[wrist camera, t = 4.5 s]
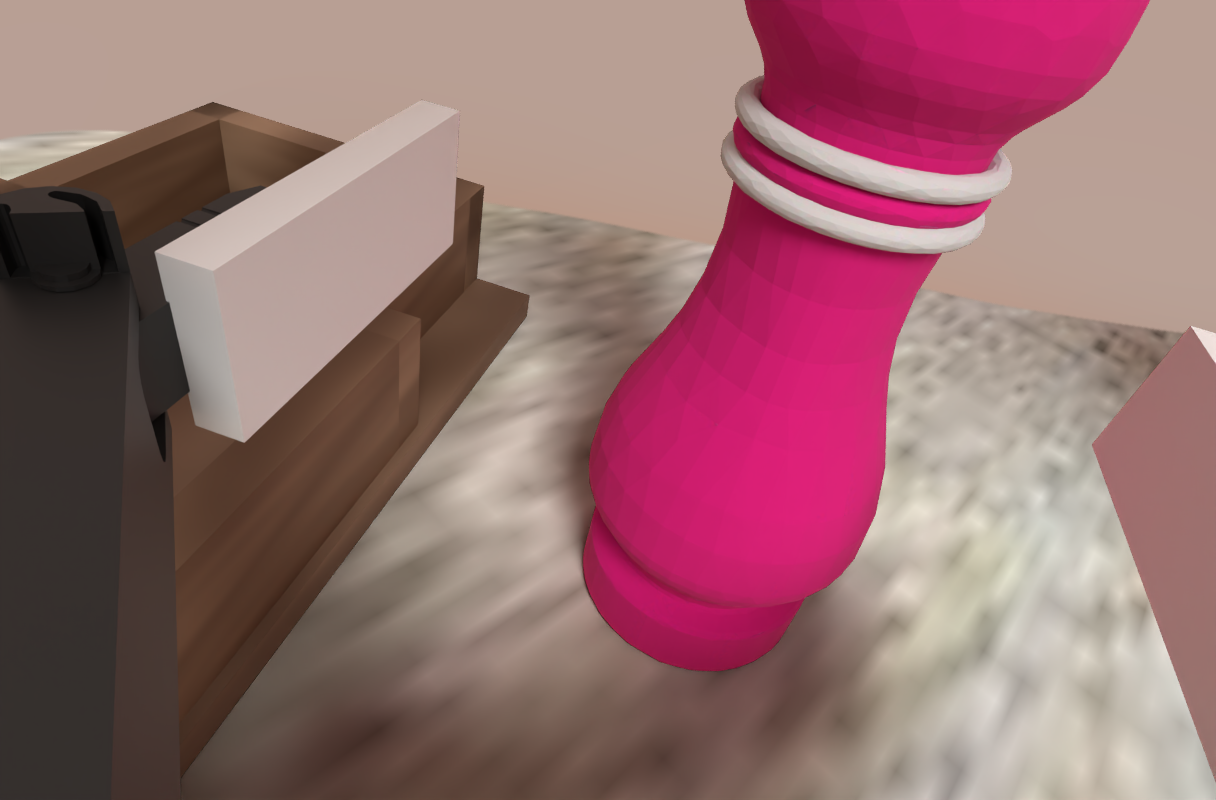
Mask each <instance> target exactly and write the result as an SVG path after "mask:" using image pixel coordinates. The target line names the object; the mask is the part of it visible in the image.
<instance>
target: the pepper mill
mask: <svg viewBox="0 0 1216 800" xmlns="http://www.w3.org/2000/svg"><path fill="white" fill-rule="evenodd" d="M1149 1H1150V0H745V5H746V10H747V15H748V18H749V21H750V23H751V26H752V28H753V30H754V33H755V36H756V38H757V41H758V43H759V46H760V49H761V53H762V57H763V61H764V76H759V77H757V78H755V79H753V80H750V81H749V82H747V83H746V84H744V85H743V86H742V87H741V88H740V90H739V92H738V93H737V95H736V98H735V109H736V112H737V115H738V117H737V119H736V121H735V123H734V126H733V130H732V131H731V132H729V134H728V135H727V136H726V138H725V139H724V140H723V144H722V149H721V159H722V163H723V165H724V167H725V169H726V171H727V173H728V175H729V176H730V177H731V178H732V180H733V181H734V182H733V187H732V191H731V195H730V200H729V204H728V208H727V213H726V217H725V222H724V226H723V229H722V231H721V234H720V236H719V238H718V241H717V243H716V246H715V248H714V250H713V253H712V255H711V257H710V260H709V262H708V264H707V267H706V269H705V272H704V274H703V275H702V277H701V279H700V280H699V282H698V284H697V285H696V287H695V288H694V290H693V292H692V293H691V295H690V296H689V298H688V300H687V301H686V303H685V305H684V306H683V308H682V309H681V310H680V312H679V313H678V314H677V315H676V316H675V318H674V319H673V320H672V321H671V323H670V324H669V325H668V326H667V327H666V329H665V330H664V331H663V332H662V333H661V334H660V335H659V336H658V337H657V338H656V339H655V340H654V342H653V343H652V344H651V345H650V346H649V347H648V348H647V349H646V350H645V351H644V352H643V353H642V354H641V355H640V356H639V357H638V358H637V359H636V361H635V362H634V363H633V364H632V365H631V366H630V368H629V369H628V370H627V371H626V373H625V374H624V376H623V377H622V379H621V380H620V382H619V384H618V385H617V387H616V388H615V390H614V392H613V393H612V395H611V396H610V398H609V399H608V401H607V403H606V405H605V408H604V411H603V413H602V416H601V419H600V422H599V425H598V427H597V430H596V433H595V436H594V439H593V442H592V445H591V451H590V457H589V479H590V486H591V489H592V493H593V496H594V500H595V503H596V507H595V510H594V514H593V518H592V521H591V525H590V529H589V533H588V536H587V540H586V544H585V548H584V555H583V569H584V576H585V581H586V584H587V587H588V590H589V593H590V595H591V597H592V599H593V601H594V603H595V605H596V606H597V608H598V610H599V612H600V614H601V615H602V616H603V618H604V619H605V620H606V621H607V622H608V624H609V625H610V626H611V627H612V628H613V629H614V630H615V631H616V632H617V633H618V634H619V635H620V636H621V637H622V638H623V639H624V640H625V641H626V642H627V643H629V644H630V645H632V646H634V647H635V648H637V649H639V650H641V651H642V652H644V653H646V654H647V655H649V656H651V657H653V658H654V659H656V660H658V661H659V662H663V663H666V664H669V665H672V666H676V667H680V668H684V669H689V670H697V671H723V670H728V669H734V668H737V667H740V666H743V665H745V664H748V663H751V662H753V661H755V660H757V659H758V658H760V657H761V656H763V655H764V654H766V653H767V652H769V651H770V650H771V649H772V648H773V647H774V646H775V645H776V644H777V643H778V642H779V640H780V639H781V637H782V636H783V634H784V633H785V631H786V629H787V628H788V626H789V624H790V623H791V621H792V619H793V618H794V616H795V614H796V613H797V611H798V609H799V608H800V606H801V604H802V602H803V600H804V598H805V597H807V596H809V595H811V594H814V593H816V592H818V591H820V590H822V589H824V588H826V587H827V586H828V585H830V584H831V583H832V582H833V581H834V580H835V579H837V578H838V577H839V576H840V575H841V574H842V573H843V572H844V570H845V569H846V568H847V567H848V566H849V565H850V563H851V562H852V561H853V560H854V559H855V556H856V554H857V552H858V550H859V548H860V546H861V544H862V542H863V540H864V538H865V536H866V533H867V531H868V529H869V527H870V525H871V523H872V521H873V519H874V517H875V514H876V509H877V504H878V500H879V495H880V490H881V485H882V480H883V475H884V470H885V449H886V407H887V393H888V379H889V372H890V367H891V363H892V358H893V354H894V349H895V345H896V340H897V337H898V335H899V333H900V330H901V328H902V326H903V323H904V321H905V319H906V316H907V314H908V312H909V309H910V307H911V305H912V303H913V300H914V298H915V296H916V293H917V292H918V290H919V289H920V287H921V285H922V283H923V282H924V281H925V279H926V278H927V276H928V274H929V273H930V271H931V270H932V268H933V267H934V265H935V264H936V262H937V260H938V259H939V257H940V256H941V254H942V253H945V252H951V251H955V250H958V249H960V248H962V247H964V246H967V245H969V244H971V243H972V242H973V241H974V240H976V239H977V238H978V237H979V236H980V234H981V233H982V231H983V228H984V226H985V213H984V211H985V210H986V209H987V207H988V205H989V204H990V203H991V198H993V197H995V196H997V195H999V194H1000V193H1001V192H1002V191H1003V190H1004V189H1005V188H1006V187H1007V186H1008V184H1009V183H1010V181H1011V176H1012V168H1011V164H1010V161H1009V160H1008V158H1007V157H1006V155H1005V154H1004V153H1003V151H1002V150H1001V149H1000V148H1001V147H1002V146H1004V145H1005V144H1006V143H1007V142H1008V141H1009V140H1010V139H1011V138H1012V137H1014V136H1015V135H1017V134H1019V133H1020V132H1022V131H1023V130H1025V129H1027V128H1029V127H1030V126H1032V125H1034V124H1036V123H1038V122H1040V121H1042V120H1044V119H1046V118H1047V117H1050V116H1051V115H1053V114H1055V113H1057V112H1059V111H1061V110H1063V109H1064V108H1066V107H1067V106H1069V105H1070V104H1072V103H1073V102H1075V101H1077V100H1078V99H1080V98H1081V97H1083V96H1084V95H1085V94H1086V93H1087V92H1088V91H1089V90H1090V89H1091V88H1092V87H1093V86H1094V85H1095V84H1097V83H1098V82H1099V81H1100V80H1101V79H1102V78H1103V77H1104V76H1105V75H1106V74H1107V73H1108V72H1109V70H1110V68H1111V67H1112V65H1113V64H1114V62H1115V61H1116V59H1117V58H1118V56H1119V54H1120V53H1121V51H1122V50H1123V48H1124V46H1125V45H1126V44H1127V42H1128V41H1129V39H1130V37H1131V35H1132V33H1133V31H1134V29H1135V28H1136V26H1137V24H1138V22H1139V20H1140V18H1141V16H1142V15H1143V13H1144V11H1145V9H1146V7H1147V5H1148V4H1149Z"/></svg>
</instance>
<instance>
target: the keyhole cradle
mask: <svg viewBox="0 0 1216 800" xmlns="http://www.w3.org/2000/svg"><path fill="white" fill-rule="evenodd" d="M343 144H345V143H343V142H340V141H337V140H333V139H331V138H327V137H324V136H321V135H318V134H314V133H311V132H308V131H305V130H301V129H298V128H295V127H292V126H289V125H285V124H282V123H279V122H276V121H272V120H269V119H266V118H263V117H259V116H256V115H253V114H250V113H247V112H243V111H240V110H237V109H234V108H230V107H227V106H224V105H221V104H217V103H214V102H212V103H209V104H206V105H204V106H201V107H199V108H196V109H193V110H191V111H188V112H186V113H183V114H180V115H178V116H175V117H172V118H170V119H167V120H165V121H162V122H160V123H157V124H154V125H152V126H149V127H147V128H144V129H141V130H139V131H136V132H133V133H131V134H128V135H126V136H123V137H120V138H118V139H115V140H113V141H110V142H107V143H105V144H102V145H100V146H97V147H94V148H92V149H89V150H87V151H84V152H81V153H79V154H76V155H74V156H71V157H68V158H66V159H63V160H60V161H58V162H55V163H53V164H50V165H47V166H45V167H42V168H40V169H37V170H34V171H32V172H29V173H27V174H24V175H21V176H19V177H16V178H14V179H11V180H8V181H6V180H3V179H0V194H3V193H7V192H11V191H15V190H19V189H23V188H33V187H45V186H59V187H75V188H80V189H84V190H88V191H92V192H96V193H98V194H100V195H101V196H103V197H105V198H106V199H108V200H110V202H111V204H112V206H113V209H114V211H115V215H116V219H117V223H118V226H119V230H120V234H121V238H122V241H123V245H124V249H126V248H128V247H130V246H132V245H133V244H135V243H137V242H139V241H141V240H143V239H144V238H146V237H148V236H150V235H152V234H154V233H155V232H157V231H159V230H161V229H163V228H165V227H167V226H168V225H170V224H172V223H174V222H176V221H178V222H181V221H182V218H183V217H185V216H187V215H189V214H190V213H192V212H194V211H196V210H199V211H201V210H202V207H203V206H205V205H207V204H209V203H211V202H213V201H214V200H216V199H218V198H220V197H222V196H224V195H225V194H228V193H232V192H236V191H240V190H244V189H248V188H252V187H256V186H260V185H261V186H264V187H269V186H271V185H273V184H274V183H276V182H278V181H280V180H281V179H283V178H285V177H287V176H288V175H290V174H292V173H294V172H295V171H297V170H299V169H301V168H302V167H304V166H306V165H308V164H309V163H311V162H313V161H315V160H316V159H318V158H320V157H322V156H323V155H325V154H327V153H329V152H331V151H332V150H334V149H336V148H338V147H339V146H341V145H343ZM483 195H484V186H482V185H479V184H476V183H472V182H469V181H466V180H463V179H460V178H457V177H456V194H455V213H454V231H453V244H452V245H451V246H450V247H449V248H448V249H447V250H446V251H445V252H444V253H443V254H441V255H440V256H439V257H438V258H437V259H436V260H435V261H434V262H433V263H432V264H431V265H430V266H429V267H428V268H427V269H426V270H425V271H424V272H423V273H422V274H421V275H420V276H418V277H417V278H416V279H415V280H414V281H413V282H412V283H411V284H410V285H409V286H408V287H407V288H406V289H405V290H404V291H403V292H402V293H401V294H400V295H399V296H398V297H396V298H395V299H394V300H393V301H392V302H391V303H390V304H389V305H388V306H387V307H386V308H385V309H384V310H383V311H382V312H381V313H380V314H379V315H378V316H377V317H376V318H375V319H373V320H372V321H371V322H370V323H369V324H368V325H367V326H366V327H365V328H364V329H363V330H362V331H361V332H360V333H359V334H358V335H357V336H356V337H355V338H354V339H353V340H352V341H350V342H349V343H348V344H347V345H346V346H345V347H344V348H343V349H342V350H341V351H340V352H339V353H338V354H337V355H336V356H335V357H334V358H333V359H332V360H331V361H330V362H328V363H327V364H326V365H325V366H324V367H323V368H322V369H321V370H320V371H319V372H318V373H317V374H316V375H315V376H314V377H313V378H312V379H311V380H310V381H309V382H308V383H307V384H305V385H304V386H303V387H302V388H301V389H300V390H299V391H298V392H297V393H296V394H295V395H294V396H293V397H292V398H291V399H290V400H289V401H288V402H287V403H286V404H285V405H283V406H282V407H281V408H280V409H279V410H278V411H277V412H276V413H275V414H274V415H273V416H272V417H271V418H270V419H269V420H268V421H267V422H266V423H265V424H264V425H263V426H262V427H260V428H259V429H258V430H257V431H256V432H255V433H254V434H253V435H252V436H251V437H250V438H249V439H248V440H247V441H246V442H245V443H244V442H241V441H238V440H235V439H232V438H230V437H227V436H224V435H221V434H218V433H216V432H213V431H210V430H207V429H204V428H202V427H199V426H196V425H195V421H194V417H193V413H192V408H191V404H190V400H189V396H188V393H187V394H186V395H185V396H184V397H182V398H181V399H180V400H179V401H177V402H176V403H175V404H174V405H172V406H171V407H170V408H169V409H167V412H168V416H169V419H170V423H171V427H172V456H173V497H174V537H175V578H176V619H177V660H178V700H179V741H180V778H181V777H182V776H183V774H184V773H185V772H186V770H187V769H188V768H189V766H190V765H191V764H192V762H193V761H194V760H195V758H196V757H197V756H198V754H199V753H200V751H201V750H202V749H203V747H204V746H205V745H206V743H207V742H208V741H209V739H210V738H211V737H212V735H213V734H214V733H215V731H216V730H217V729H218V727H219V726H220V725H221V723H222V722H223V721H224V719H225V718H226V717H227V715H228V714H229V713H230V711H231V710H232V709H233V707H234V706H235V705H236V703H237V702H238V701H239V699H240V698H241V697H242V695H243V694H244V693H245V691H246V690H247V689H248V687H249V686H250V685H251V683H252V682H253V681H254V679H255V678H256V677H257V675H258V674H259V673H260V671H261V670H262V669H263V667H264V666H265V665H266V663H267V662H268V661H269V659H270V658H271V657H272V655H273V654H274V653H275V651H276V650H277V649H278V647H279V646H280V645H281V643H282V642H283V641H284V639H285V638H286V637H287V635H288V634H289V633H290V631H291V630H292V629H293V627H294V626H295V625H296V623H297V622H298V621H299V619H300V618H301V617H302V615H303V614H304V613H305V611H306V610H307V609H308V607H309V606H310V605H311V603H312V602H313V601H314V599H315V598H316V597H317V595H318V594H319V593H320V591H321V590H322V589H323V587H324V586H325V585H326V583H327V582H328V581H329V579H330V578H331V577H332V575H333V574H334V573H335V571H336V570H337V569H338V567H339V566H340V565H341V563H342V562H343V561H344V559H345V558H346V557H347V555H348V554H349V553H350V551H351V550H352V549H353V547H354V546H355V545H356V543H357V542H358V541H359V539H360V538H361V537H362V535H363V534H364V533H365V531H366V530H367V529H368V527H369V526H370V525H371V523H372V522H373V521H374V519H375V518H376V516H377V515H378V514H379V512H380V511H381V510H382V508H383V507H384V506H385V504H386V503H387V502H388V500H389V499H390V498H391V496H392V495H393V494H394V492H395V491H396V490H397V488H398V487H399V486H400V484H401V483H402V482H403V480H404V479H405V478H406V476H407V475H408V474H409V472H410V471H411V470H412V468H413V467H414V466H415V464H416V463H417V462H418V460H419V459H420V458H421V456H422V455H423V454H424V452H425V451H426V450H427V448H428V447H429V446H430V444H431V443H432V442H433V440H434V439H435V438H436V436H437V435H438V434H439V432H440V431H441V430H442V428H443V427H444V426H445V424H446V423H447V422H448V420H449V419H450V418H451V416H452V415H453V414H454V412H455V411H456V410H457V408H458V407H459V406H460V404H461V403H462V402H463V400H464V399H465V398H466V396H467V395H468V394H469V392H470V391H471V390H472V388H473V387H474V386H475V384H476V383H477V382H478V380H479V379H480V378H481V376H482V375H483V374H484V372H485V371H486V370H487V368H488V367H489V366H490V364H491V363H492V362H493V360H494V359H495V358H496V356H497V355H498V354H499V352H500V351H501V350H502V348H503V347H504V346H505V344H506V343H507V342H508V340H509V339H510V338H511V336H512V335H513V334H514V332H515V331H516V330H517V328H518V327H519V326H520V324H521V323H522V322H523V320H524V319H525V318H526V316H527V310H528V303H529V295H526V294H523V293H520V292H517V291H514V290H511V289H508V288H505V287H502V286H499V285H496V284H493V283H489V282H486V281H483V280H480V279H477V269H478V256H479V244H480V232H481V219H482V207H483Z"/></svg>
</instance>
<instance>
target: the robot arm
mask: <svg viewBox="0 0 1216 800" xmlns="http://www.w3.org/2000/svg"><path fill="white" fill-rule="evenodd" d="M459 120H460V111H459V110H456V109H452V108H449V107H445V106H441V105H438V104H435V103H432V102H428V101H425V100H420V101H418V102H417V103H415V104H413V105H411V106H410V107H408V108H406V109H404V110H403V111H401V112H399V113H397V114H396V115H394V116H392V117H391V118H388V119H387V120H385V121H383V122H381V123H380V124H378V125H376V126H374V127H373V128H371V129H369V130H367V131H366V132H364V133H362V134H361V135H359V136H357V137H355V138H353V139H352V140H350V141H348V142H346V143H345V144H343V145H341V146H339V147H338V148H336V149H334V150H332V151H331V152H329V153H327V154H325V155H323V156H322V157H320V158H318V159H316V160H315V161H313V162H311V163H309V164H308V165H306V166H304V167H302V168H301V169H299V170H297V171H295V172H294V173H292V174H290V175H288V176H287V177H285V178H283V179H281V180H280V181H278V182H276V183H274V184H273V185H271V186H269V187H264V186H261V185H260V186H256V187H252V188H248V189H244V190H240V191H236V192H232V193H228V194H225V195H224V196H222V197H220V198H218V199H216V200H214V201H213V202H211V203H209V204H207V205H205V206H203V207H202V210H201V211H199V210H196V211H194V212H192V213H190V214H189V215H187V216H185V217H183V218H182V221H181V222H178V221H176V222H174V223H172V224H170V225H168V226H167V227H165V228H163V229H161V230H159V231H157V232H155V233H154V234H152V235H150V236H148V237H146V238H144V239H143V240H141V241H139V242H137V243H135V244H133V245H132V246H130V247H128V248H126V249H124V245H123V241H122V238H121V234H120V230H119V226H118V223H117V219H116V215H115V211H114V209H113V206H112V204H111V202H110V200H108V199H106V198H105V197H103V196H101V195H100V194H98V193H96V192H92V191H88V190H84V189H80V188H75V187H59V186H45V187H33V188H23V189H19V190H15V191H11V192H7V193H3V194H0V800H181V782H180V741H179V700H178V660H177V619H176V578H175V537H174V497H173V456H172V427H171V423H170V419H169V416H168V412H167V409H169V408H170V407H171V406H172V405H174V404H175V403H176V402H177V401H179V400H180V399H181V398H182V397H184V396H185V395H186V394H187V393H188V396H189V400H190V404H191V408H192V413H193V417H194V421H195V425H196V426H199V427H202V428H204V429H207V430H210V431H213V432H216V433H218V434H221V435H224V436H227V437H230V438H232V439H235V440H238V441H241V442H244V443H245V442H246V441H247V440H248V439H249V438H250V437H251V436H252V435H253V434H254V433H255V432H256V431H257V430H258V429H259V428H260V427H262V426H263V425H264V424H265V423H266V422H267V421H268V420H269V419H270V418H271V417H272V416H273V415H274V414H275V413H276V412H277V411H278V410H279V409H280V408H281V407H282V406H283V405H285V404H286V403H287V402H288V401H289V400H290V399H291V398H292V397H293V396H294V395H295V394H296V393H297V392H298V391H299V390H300V389H301V388H302V387H303V386H304V385H305V384H307V383H308V382H309V381H310V380H311V379H312V378H313V377H314V376H315V375H316V374H317V373H318V372H319V371H320V370H321V369H322V368H323V367H324V366H325V365H326V364H327V363H328V362H330V361H331V360H332V359H333V358H334V357H335V356H336V355H337V354H338V353H339V352H340V351H341V350H342V349H343V348H344V347H345V346H346V345H347V344H348V343H349V342H350V341H352V340H353V339H354V338H355V337H356V336H357V335H358V334H359V333H360V332H361V331H362V330H363V329H364V328H365V327H366V326H367V325H368V324H369V323H370V322H371V321H372V320H373V319H375V318H376V317H377V316H378V315H379V314H380V313H381V312H382V311H383V310H384V309H385V308H386V307H387V306H388V305H389V304H390V303H391V302H392V301H393V300H394V299H395V298H396V297H398V296H399V295H400V294H401V293H402V292H403V291H404V290H405V289H406V288H407V287H408V286H409V285H410V284H411V283H412V282H413V281H414V280H415V279H416V278H417V277H418V276H420V275H421V274H422V273H423V272H424V271H425V270H426V269H427V268H428V267H429V266H430V265H431V264H432V263H433V262H434V261H435V260H436V259H437V258H438V257H439V256H440V255H441V254H443V253H444V252H445V251H446V250H447V249H448V248H449V247H450V246H451V245H452V244H453V231H454V213H455V194H456V174H457V157H458V138H459ZM1092 446H1093V449H1094V452H1095V454H1096V457H1097V460H1098V463H1099V465H1100V468H1101V471H1102V474H1103V476H1104V479H1105V482H1106V484H1107V487H1108V490H1109V493H1110V495H1111V498H1112V501H1113V504H1114V506H1115V509H1116V512H1117V514H1118V517H1119V520H1120V523H1121V525H1122V528H1123V531H1124V534H1125V536H1126V539H1127V542H1128V544H1129V547H1130V550H1131V553H1132V555H1133V558H1134V561H1135V564H1136V566H1137V569H1138V572H1139V574H1140V577H1141V580H1142V583H1143V585H1144V588H1145V591H1146V594H1147V596H1148V599H1149V602H1150V604H1151V607H1152V610H1153V613H1154V615H1155V618H1156V621H1157V623H1158V626H1159V629H1160V632H1161V634H1162V637H1163V640H1164V643H1165V645H1166V648H1167V651H1168V653H1169V656H1170V659H1171V662H1172V664H1173V667H1174V670H1175V673H1176V675H1177V678H1178V681H1179V683H1180V686H1181V689H1182V692H1183V694H1184V697H1185V700H1186V703H1187V705H1188V708H1189V711H1190V713H1191V716H1192V719H1193V722H1194V724H1195V727H1196V730H1197V733H1198V735H1199V738H1200V741H1201V743H1202V746H1203V749H1204V752H1205V754H1206V757H1207V760H1208V763H1209V765H1210V768H1211V771H1212V773H1213V776H1214V779H1215V782H1216V333H1214V332H1210V331H1206V330H1203V329H1200V328H1196V327H1193V326H1190V327H1189V328H1188V330H1187V331H1186V332H1185V333H1184V334H1183V336H1182V337H1181V338H1180V339H1179V340H1178V342H1177V343H1176V344H1175V345H1174V346H1173V348H1172V349H1171V350H1170V351H1169V352H1168V354H1167V355H1166V356H1165V357H1164V358H1163V360H1162V361H1161V362H1160V363H1159V364H1158V366H1157V367H1156V368H1155V369H1154V370H1153V372H1152V373H1151V374H1150V375H1149V376H1148V378H1147V379H1146V380H1145V381H1144V382H1143V384H1142V385H1141V386H1140V387H1139V388H1138V390H1137V391H1136V392H1135V393H1134V394H1133V396H1132V397H1131V398H1130V399H1129V400H1128V402H1127V403H1126V404H1125V405H1124V407H1123V408H1122V409H1121V410H1120V411H1119V413H1118V414H1117V415H1116V416H1115V417H1114V419H1113V420H1112V421H1111V422H1110V423H1109V425H1108V426H1107V427H1106V428H1105V429H1104V431H1103V432H1102V433H1101V434H1100V435H1099V437H1098V438H1097V439H1096V440H1095V441H1094V443H1093V444H1092Z"/></svg>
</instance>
